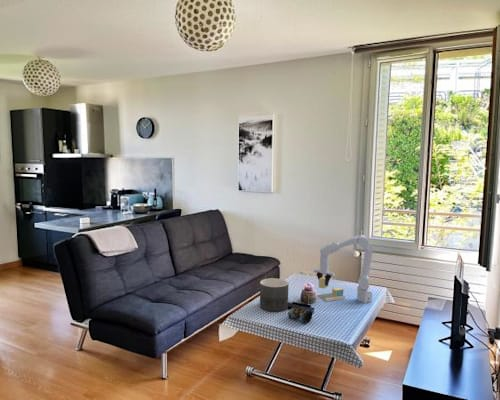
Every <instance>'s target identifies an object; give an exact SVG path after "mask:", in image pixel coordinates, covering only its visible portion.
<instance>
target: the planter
mask: <svg viewBox="0 0 500 400" xmlns="http://www.w3.org/2000/svg"><path fill="white" fill-rule="evenodd" d="M259 285H260V286H259V308H260V309H261V310H263V311H265V312H271V313H277V312H278V313H279V312H284V311H286V310H287V309H288V307H289V306H288V305H289V281H287V280H286V279H283V278H277V277H276V278H274V277H271V278H264V279H261V280H260V281H259Z"/></svg>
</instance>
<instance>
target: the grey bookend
mask: <svg viewBox="0 0 500 400" xmlns="http://www.w3.org/2000/svg"><path fill="white" fill-rule="evenodd" d="M345 296H346V295H343V296H338V297H332V292H331V293H330V292H329V293H324V294H323V293H322V294H318V295H317V296H316V297H317V298H320V299H321V300H323V301H324V302H331V301H336V300H344V299H345V298H346V297H345Z"/></svg>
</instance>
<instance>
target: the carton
mask: <svg viewBox="0 0 500 400" xmlns="http://www.w3.org/2000/svg"><path fill="white" fill-rule="evenodd" d="M325 282H326V281H325V276H323V277H322V278H319V280H318V288H320V289H323V290H325V289H327V288H328V287H330V286H329V283H328V285H327V286H326V285H325Z"/></svg>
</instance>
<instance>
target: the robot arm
mask: <svg viewBox="0 0 500 400" xmlns="http://www.w3.org/2000/svg"><path fill="white" fill-rule="evenodd" d="M350 245H353V246H354V245H355V246H359V247H361V248H363V249H364V250H363V251H364V254H363V255H364V256H363V260H362V265H361V266H362V267H361V272H360V276H359V277H358V279H357V284H358V286H357V288H356V289H357V290H356V291H357V293H356V300H357V301H358V302H362V303H363V304H369V303H372V301H373V293H372V291H371V290H370V288H369V287H370V283H369V277H370V276H369V275H370V268H371V263H372V257H373V253H374V248H373V246H372V244H371V242H370V240H369V239H368V237H367V236H366V235H364V234H359V235H354V236H353V237H351V238H348V239H346V240H343V241H341V242H337V241H336V242H335V241H334V242H332V243H331V244H328V245H327V244H326V245H325V246H322V247H321V248H320V250H319V251H320V255H319V256H320V259H319V269H318V268H314V269H313V273H316V278H317V279H318V281H319V278H322V277H325V281H326V282H325V285H326V286H327V285H328V283H329V282H330V280H331V278H332V277H335V274H336V273H335V272H332V271H329V266H330V258H329V257H330V256H329V255H332V254H333V253H337V252H339V251H341V248H344V247H347V246H350Z"/></svg>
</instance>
